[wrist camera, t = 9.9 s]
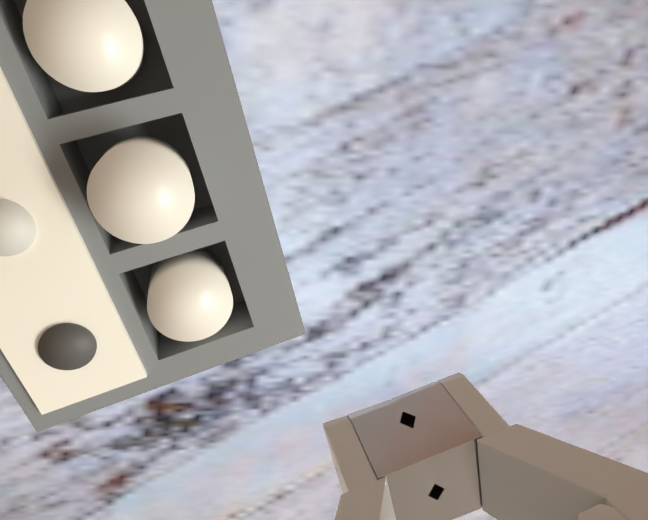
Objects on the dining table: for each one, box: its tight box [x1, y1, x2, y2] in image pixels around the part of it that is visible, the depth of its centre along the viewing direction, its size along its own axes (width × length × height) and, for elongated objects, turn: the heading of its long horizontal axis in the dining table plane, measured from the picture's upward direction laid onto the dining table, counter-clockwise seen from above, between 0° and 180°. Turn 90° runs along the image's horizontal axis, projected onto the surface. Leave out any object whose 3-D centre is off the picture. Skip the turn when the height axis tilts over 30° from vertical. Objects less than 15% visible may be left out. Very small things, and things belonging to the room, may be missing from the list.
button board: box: [0, 0, 306, 432], centre depth 21 cm, size 14×20×4 cm
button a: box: [23, 0, 145, 92], centre depth 19 cm, size 4×4×3 cm
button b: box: [87, 136, 195, 244], centre depth 20 cm, size 4×4×3 cm
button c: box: [147, 248, 233, 342], centre depth 24 cm, size 4×4×3 cm
